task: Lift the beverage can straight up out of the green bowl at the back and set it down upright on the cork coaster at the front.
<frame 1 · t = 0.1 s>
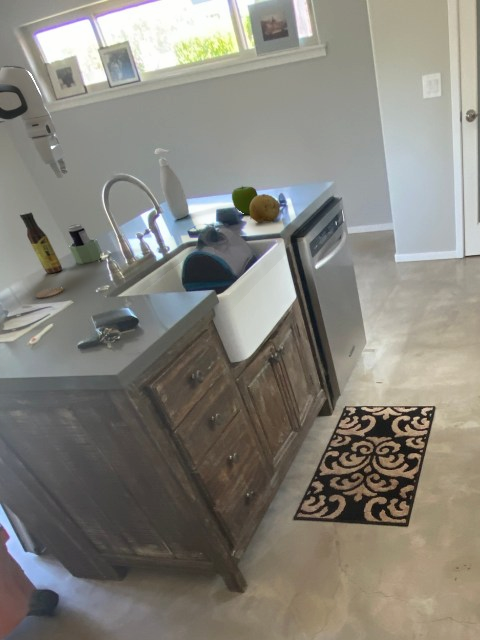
hand: (63, 175, 185), 28 cm above the worktop, tool pointing down, fingers open, 8 cm apart
sauce bottle: (55, 271, 198), on the worktop
potato: (267, 222, 216), on the worktop
soap bottle: (183, 217, 243), on the worktop
coaster: (50, 293, 177), on the worktop
apple: (249, 213, 232), on the worktop
green bowl: (90, 259, 205), on the worktop
beverage can: (90, 259, 205), resting in green bowl
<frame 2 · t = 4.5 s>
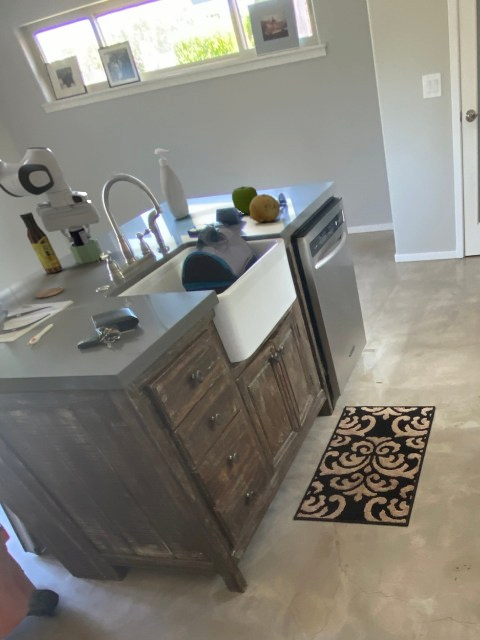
hand: (81, 239, 200), 7 cm above the worktop, tool pointing down, fingers closed on beverage can, 5 cm apart
beverage can: (90, 259, 205), resting in green bowl, touching gripper
everything else where it was.
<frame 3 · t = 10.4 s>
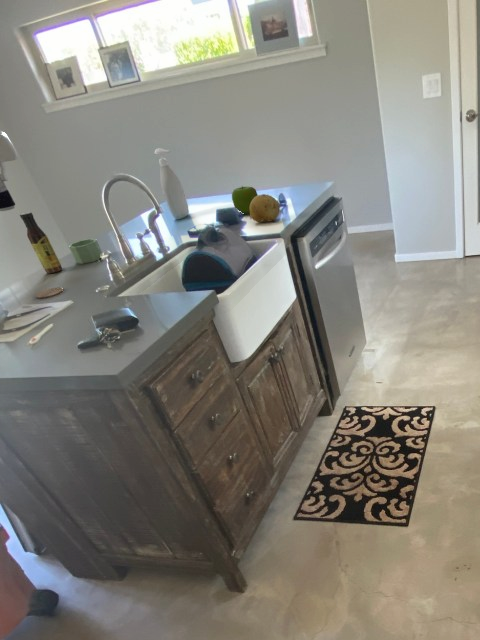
beverage can: (7, 210, 162), point 25 cm above the worktop, touching gripper
everything else where it was.
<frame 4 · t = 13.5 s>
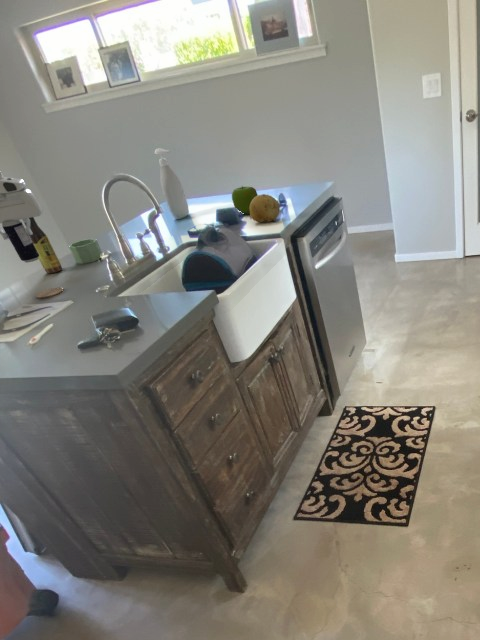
hand: (19, 236, 165), 18 cm above the worktop, tool pointing down, fingers closed on beverage can, 5 cm apart
beverage can: (32, 261, 170), point 11 cm above the worktop, touching gripper
everything else where it was.
when the fingers open (7 cm above the worktop, at t = 16.3 s): beverage can stays where it is, resting on coaster.
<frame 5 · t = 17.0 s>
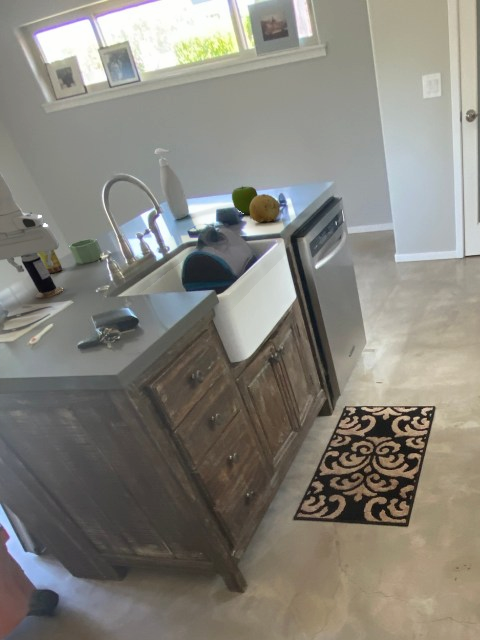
hand: (36, 268, 172), 8 cm above the worktop, tool pointing down, fingers open, 8 cm apart
beverage can: (49, 292, 177), resting on coaster
everything else where it was.
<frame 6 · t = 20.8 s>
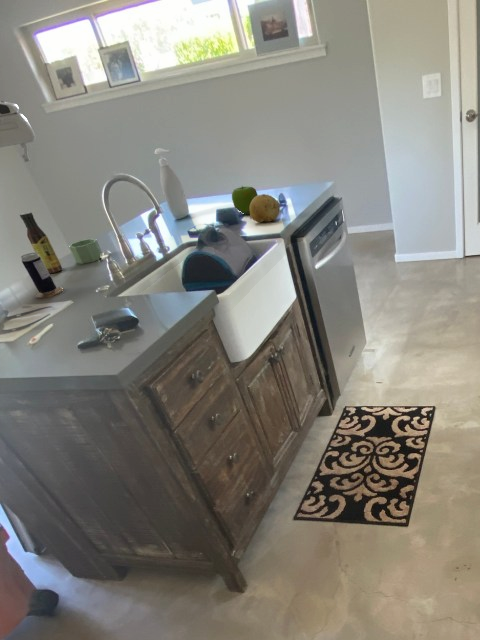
hand: (12, 163, 166), 35 cm above the worktop, tool pointing down, fingers open, 8 cm apart
nothing on the worktop moved.
at the end: beverage can 0.1 cm off-centre on the coaster, point 0.2 cm above the coaster's base; beverage can tilted 0°; the gripper is holding nothing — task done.
